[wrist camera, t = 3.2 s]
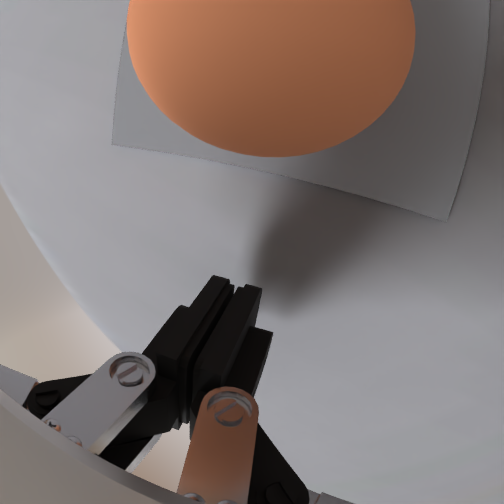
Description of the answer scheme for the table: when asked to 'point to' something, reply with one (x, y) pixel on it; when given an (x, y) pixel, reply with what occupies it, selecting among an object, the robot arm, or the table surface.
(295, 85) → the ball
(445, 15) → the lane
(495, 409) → the table surface
